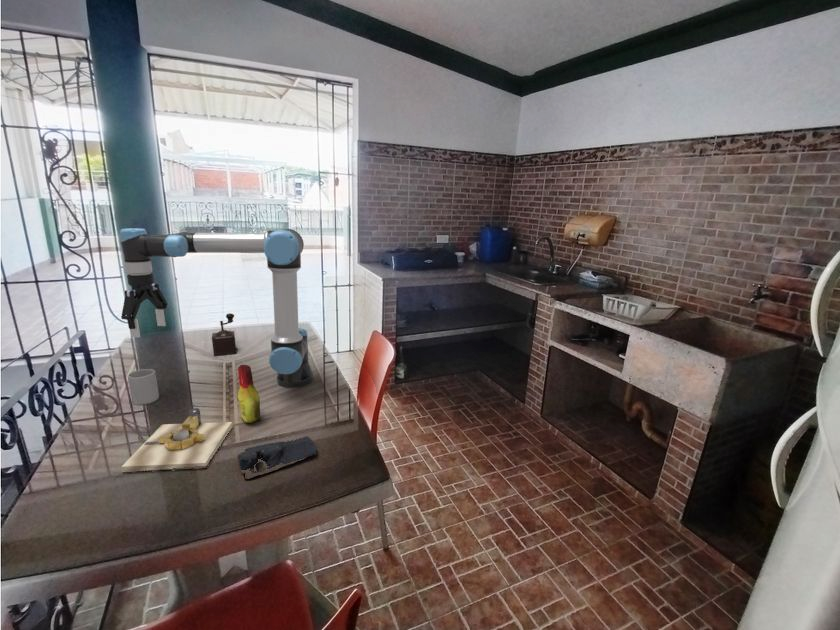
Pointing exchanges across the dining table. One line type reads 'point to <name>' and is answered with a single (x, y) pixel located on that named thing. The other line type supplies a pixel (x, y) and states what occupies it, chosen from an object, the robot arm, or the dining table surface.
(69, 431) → the dining table surface
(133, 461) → the post board
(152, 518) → the dining table surface
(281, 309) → the robot arm
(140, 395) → the mug
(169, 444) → the collar
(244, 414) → the bottle
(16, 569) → the dining table surface
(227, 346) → the coffee grinder
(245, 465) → the dark slate chunk
